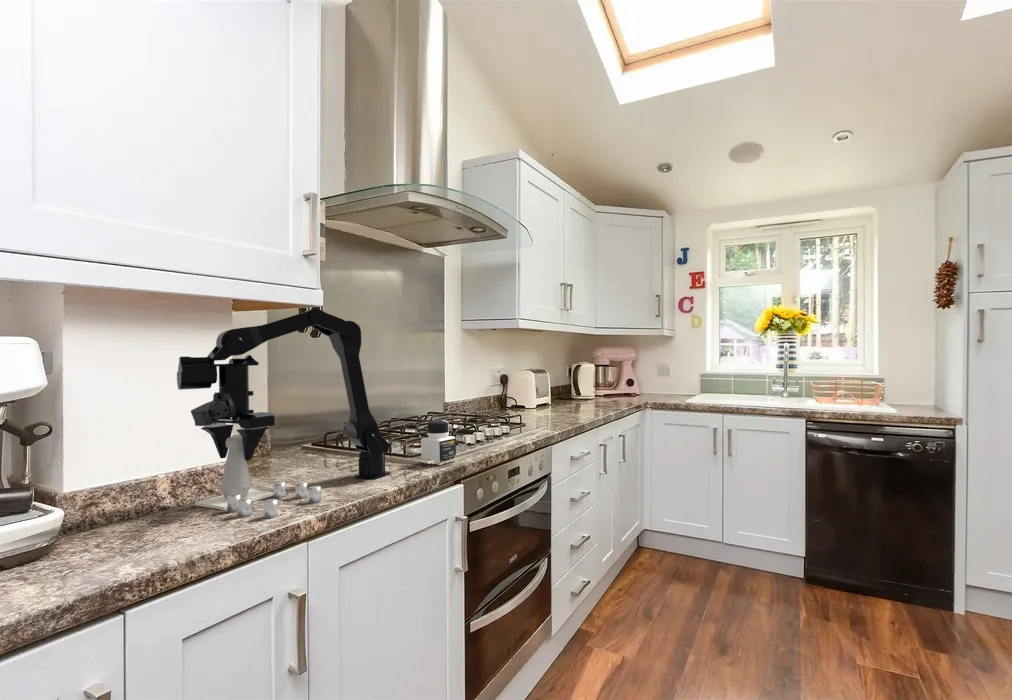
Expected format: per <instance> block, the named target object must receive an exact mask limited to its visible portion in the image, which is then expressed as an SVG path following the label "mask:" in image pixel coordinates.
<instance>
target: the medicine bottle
mask: <svg viewBox="0 0 1012 700" xmlns="http://www.w3.org/2000/svg"><path fill="white" fill-rule="evenodd" d="M449 427H450V424H449V422H448V421H447V420H445V419H443V420H442V419H436V420H430V421H427V436H428V437H424V438H420V452H421V454H420V455H421V457H420V458H424V459H430V460H434V461H438V462H442V461H446V460H449V459H453V458H456V459H457V450H456V444H457V442H456V437H455V436H452V435H451V436H450V435H449V434H450V433H449V432H450V428H449Z"/></svg>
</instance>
